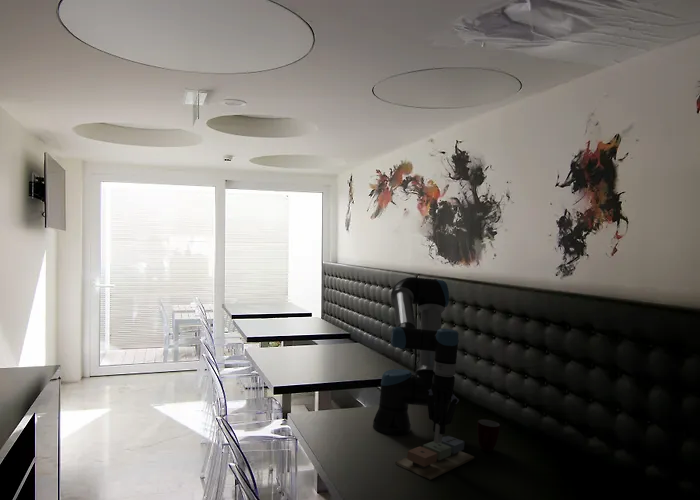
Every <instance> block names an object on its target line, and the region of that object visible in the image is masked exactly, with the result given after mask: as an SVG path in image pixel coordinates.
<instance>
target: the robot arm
mask: <svg viewBox="0 0 700 500" xmlns="http://www.w3.org/2000/svg"><path fill="white" fill-rule="evenodd" d="M390 297H391V302H392V304H393V308H394V319H395V320H394V321H395V326H393V328H392V329H391V336H390V337H391V338H390V343H391V344H390V345H391V347H393V348H398V349H407V350H417V351H418V350H419V363H418V364H419V365H418V368H417V369H416V370H415V374H412V371H410V370H408V369H405V368H404V369H402V368H397V369H395V368H394V369H389V370H386V371H384V372H383V374H382V376H381V381H380V394H379V403H378V409H377V412H376V414H375V416H374V419H373V420H372V421H373V422H372V428H373V429H374V430H376V431H377V432H378V433H379V432H380V433H381V434H385V435H389V436H390V435H391V436H404V435H408V434H410V432H411V427H412V425H411V421H410V416H409V406H410V405H413V406H420V407H422V406H423V407H427V413H428V419H429V420H431V421H432V422H433V429H432V430H433V433H434V438H433V441H434V443H436V444H439V443H442V437H443V435H445V433H446V425H450V424H451V423H452V420H453V418H454V415H455V411H456V409H457V405H458V404H459V403H460V401H461V399H460V397H457V396H456V395H455V391H454V388H455V381H456V377H455V375H456V369H457V358H458V348H459V347H458V345H459V342H460V340H459V332H458V331H457V330H455V329H451V328H441V327H442V313H443V312H445V310H446V308H447V307H448V305H449V303H450V299H449V298H450V291H449V287H448V284H447V283H446V281H445V280H443V279H436V278H434V279H433V278H423V277H414V276H413V277H412V276H410V277H406V278H403V279H401V280H399V281H398V282H397V283H396V284H395V285H394V286H393V288H392V290H391V294H390ZM413 305H417V310H418V311H419V312H420V328H417V325H416V319H415V312H414V306H413Z"/></svg>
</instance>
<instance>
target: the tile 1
mask: <svg viewBox="0 0 700 500" xmlns="http://www.w3.org/2000/svg"><path fill="white" fill-rule="evenodd" d="M406 457H407V459H408V460H410V461H412V462H415V463H417V464H419V465H421V466H424V467H425V466H428V465H430V464H432V463H434V462H436V461H437V453H436V452H433V451H431V450H428V449H426V448H423V446H420V445H419V446H417V447H414V448H411V449H409V450H407V456H406Z"/></svg>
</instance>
